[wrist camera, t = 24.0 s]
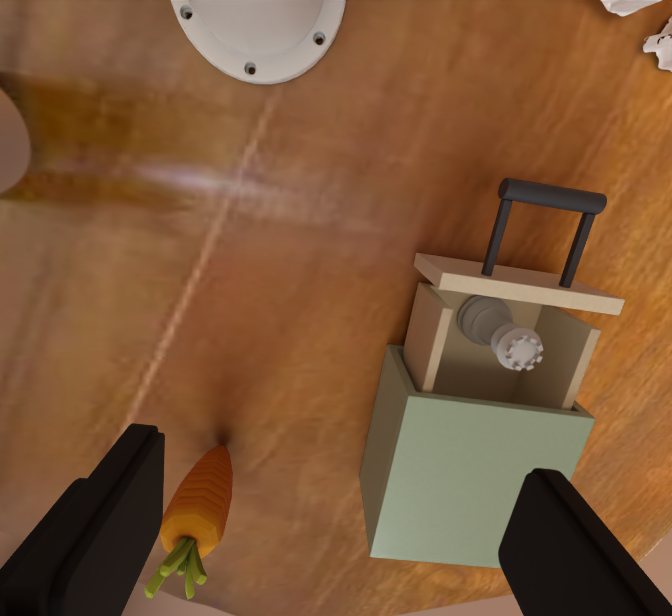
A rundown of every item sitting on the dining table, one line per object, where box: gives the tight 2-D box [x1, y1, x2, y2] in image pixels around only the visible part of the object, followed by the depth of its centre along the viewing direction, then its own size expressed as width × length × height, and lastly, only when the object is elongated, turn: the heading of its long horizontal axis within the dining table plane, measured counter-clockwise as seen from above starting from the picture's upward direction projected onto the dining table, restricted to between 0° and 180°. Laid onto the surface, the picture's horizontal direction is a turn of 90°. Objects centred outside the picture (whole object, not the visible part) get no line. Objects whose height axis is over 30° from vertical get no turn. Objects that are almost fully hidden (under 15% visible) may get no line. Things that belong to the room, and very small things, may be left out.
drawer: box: [401, 178, 625, 411], centre depth 32 cm, size 21×13×8 cm, turn 171°
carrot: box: [144, 445, 233, 599], centre depth 33 cm, size 5×5×15 cm
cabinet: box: [359, 344, 596, 568], centre depth 36 cm, size 16×15×10 cm
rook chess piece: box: [458, 295, 543, 371], centre depth 31 cm, size 4×4×8 cm
